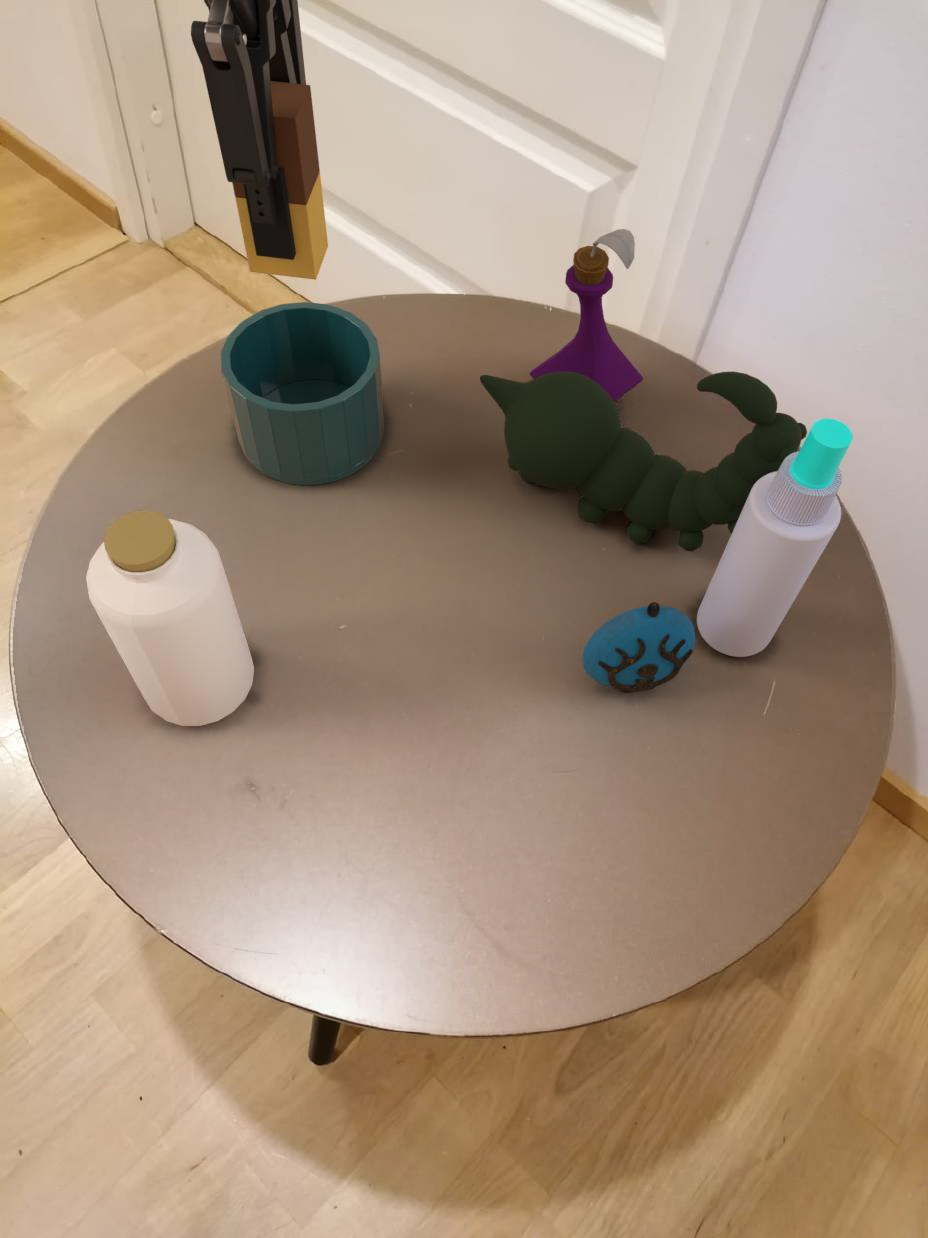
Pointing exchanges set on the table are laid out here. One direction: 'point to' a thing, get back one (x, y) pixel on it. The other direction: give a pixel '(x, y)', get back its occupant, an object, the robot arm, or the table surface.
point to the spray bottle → (775, 544)
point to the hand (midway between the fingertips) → (284, 233)
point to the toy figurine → (638, 453)
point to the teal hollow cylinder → (305, 392)
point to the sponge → (293, 186)
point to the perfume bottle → (595, 320)
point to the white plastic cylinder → (171, 617)
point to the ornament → (640, 648)
